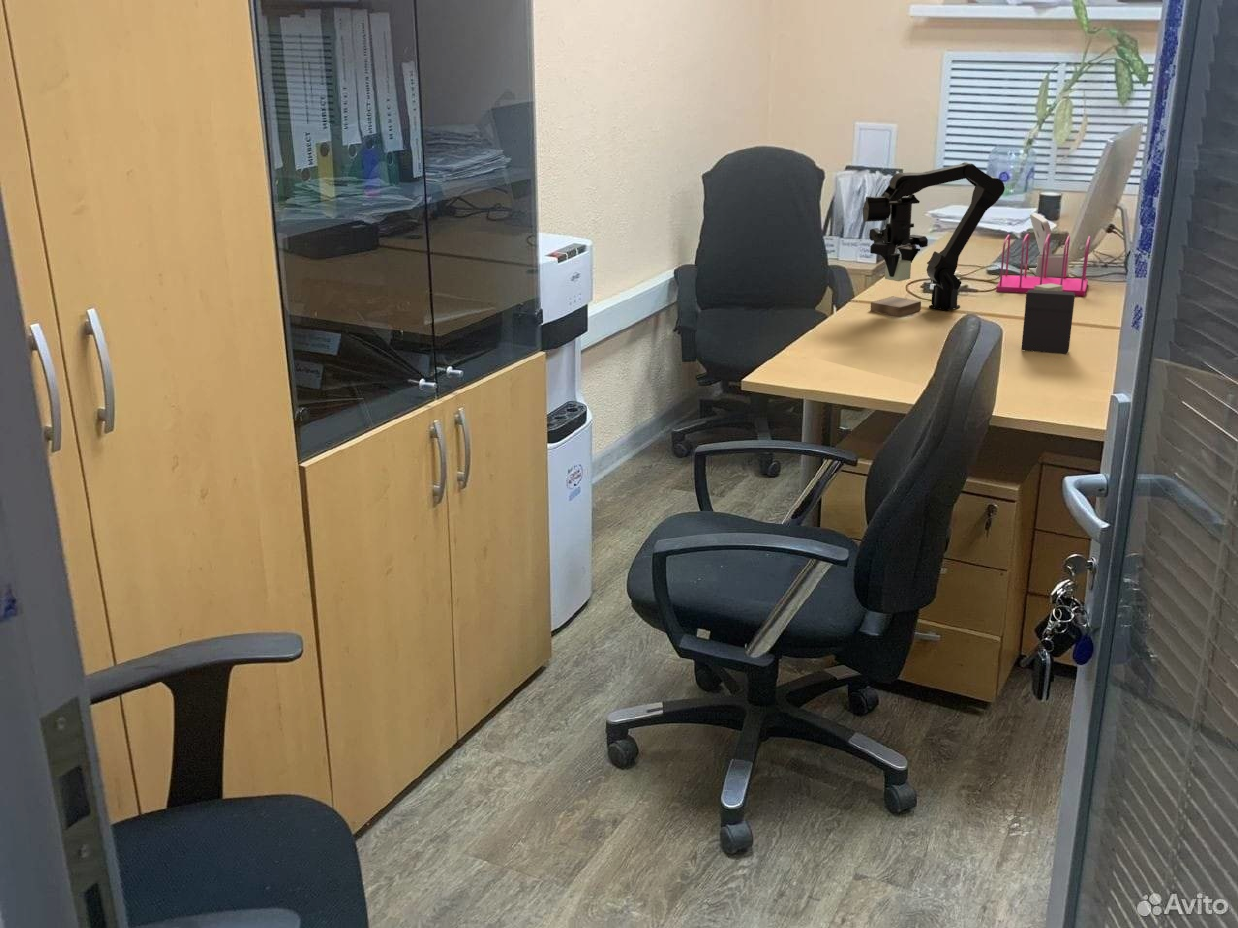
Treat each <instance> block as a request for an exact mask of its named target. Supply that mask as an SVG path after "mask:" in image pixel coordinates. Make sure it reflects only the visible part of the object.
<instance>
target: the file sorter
mask: <svg viewBox="0 0 1238 928" xmlns="http://www.w3.org/2000/svg"><path fill="white" fill-rule="evenodd" d="M1029 240H1030V233H1026V235H1025V236H1024V237H1023V240H1022V246H1021V257H1020V259H1021V260H1020V271H1019V272H1020V273H1019V275H1009V274H1008V270H1009V269H1008V268H1009V259H1010V258H1009V257H1010V248H1011V247H1010V246H1011V234H1007V236H1006V237H1005V239H1004V240H1003V244H1002V245H1003V246H1002V255H1001V265H1000V276H999V282H998V283H997V284H996V289H995V290H996V292H997V293H998V292H1001V293H1022V294H1027V292H1028V290H1034V286H1036V285H1042V284H1049V283H1053V284H1057V285H1062V286H1063V290H1062V291H1063V292H1074V293H1075V297H1086V296H1085V295H1086V292H1087V287H1088V283H1089V279H1088V278H1086V277H1087V276H1086V275H1087V269H1088V268H1087V267H1088V259H1089V253H1090V243H1091V235H1088V236H1087V240H1086V244H1085V249H1084V258H1083V266H1082V267H1083V268H1082V275H1081V278H1071V277H1070V278H1069V277H1067V276H1066V269H1067V260H1068V255H1069V250H1070V249H1069V248H1070V240H1071V236H1070V235H1068V236H1067V238H1066V240H1065V243H1064V248H1063V254H1064V255H1063V264H1062V273H1061V277H1046V271H1047V263H1048V254H1049V245H1050V244H1051V242H1050V241H1051V236H1050V234H1048V236H1047V238H1046V240H1045V243H1044V247H1043V256H1042V266H1041V277H1038V276H1032V275H1031V276H1028V275H1027V272H1028V271H1027V270H1028V269H1027V264H1028V258H1029V244H1030V241H1029ZM1047 241H1048V246H1047V255H1046V263H1045V272H1044V277H1043V267H1044V256H1045V248H1046V243H1047ZM1006 244H1007V249H1006ZM1025 244H1026V249H1025ZM1050 246H1051V245H1050ZM1006 250H1007V252H1006V262H1005V263H1006V264H1005V274H1003V272H1004V261H1005V251H1006ZM1025 252H1026V253H1025ZM1024 253H1025V264H1024ZM1065 254H1066V261H1065ZM1064 264H1065V270H1064ZM1023 265H1024V266H1023ZM1023 268H1024V275H1023ZM1063 273H1064V277H1063ZM1066 277H1067V278H1066Z"/></svg>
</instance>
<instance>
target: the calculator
mask: <svg viewBox="0 0 1238 928" xmlns="http://www.w3.org/2000/svg"><path fill="white" fill-rule="evenodd" d="M1025 294H1026V296H1025V303H1024V304H1025V305H1024V317H1023V318H1024V319H1023V329H1022V336H1021V337H1022V339H1021V351H1022V350H1025V351H1024V352H1033V351H1034V352H1036V353H1047V354H1059V355H1067V354H1068V353H1069V351H1070V341H1071V333H1072V325H1073V323H1072V322H1073V318H1074V316H1073V315H1074V308H1075V299H1076V296H1075V293H1074V292H1063V291H1046V290H1028V292H1027V293H1025ZM1034 352H1033V353H1034Z"/></svg>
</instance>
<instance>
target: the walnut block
mask: <svg viewBox="0 0 1238 928" xmlns="http://www.w3.org/2000/svg"><path fill="white" fill-rule="evenodd" d="M921 307H922V301H921V300H916V299H915V300H914V299H910V298H906V297H899V296H893V295H892V296H888V297H885V298H880V299H878V300H874V301H871V302H870V312H875V313H879V314H885V315H890V316H894V317H902V316H907V315H909V314H914V313H916V312H919V311H921Z"/></svg>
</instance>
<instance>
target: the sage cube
mask: <svg viewBox="0 0 1238 928" xmlns="http://www.w3.org/2000/svg"><path fill="white" fill-rule="evenodd" d="M884 267H885V268H884V271H885V272H884V280H888V281H894V282H902V281H907V280H910V279H911V273H912V272H911V270H912V263H911V261H907V260H901V258H899V260H898V264H897V267H896V271H895V274H894V277H890V275H889V272H888V269H887V265H886V264H885V266H884Z"/></svg>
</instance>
